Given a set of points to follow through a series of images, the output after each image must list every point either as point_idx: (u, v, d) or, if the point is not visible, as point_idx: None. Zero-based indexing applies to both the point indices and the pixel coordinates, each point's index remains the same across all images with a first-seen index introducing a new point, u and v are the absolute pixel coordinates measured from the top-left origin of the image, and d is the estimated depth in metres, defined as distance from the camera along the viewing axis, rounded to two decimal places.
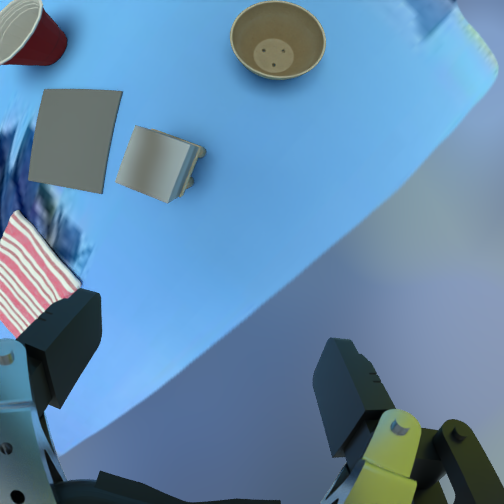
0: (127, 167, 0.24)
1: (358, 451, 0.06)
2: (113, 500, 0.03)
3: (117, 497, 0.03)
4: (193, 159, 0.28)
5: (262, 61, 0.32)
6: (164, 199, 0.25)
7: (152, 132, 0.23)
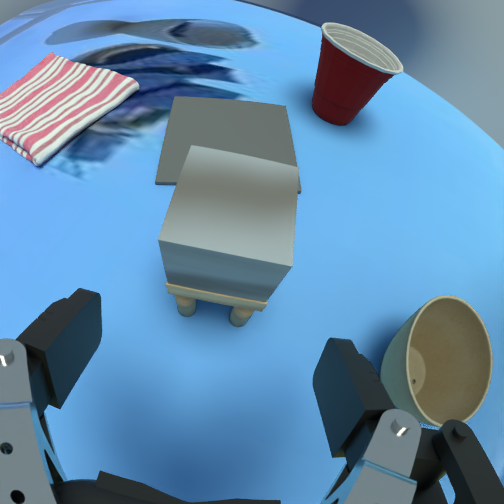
0: (221, 161, 0.14)
1: (358, 452, 0.06)
2: (113, 500, 0.03)
3: (117, 497, 0.03)
4: (242, 295, 0.16)
5: None
6: (165, 232, 0.12)
7: (295, 194, 0.14)
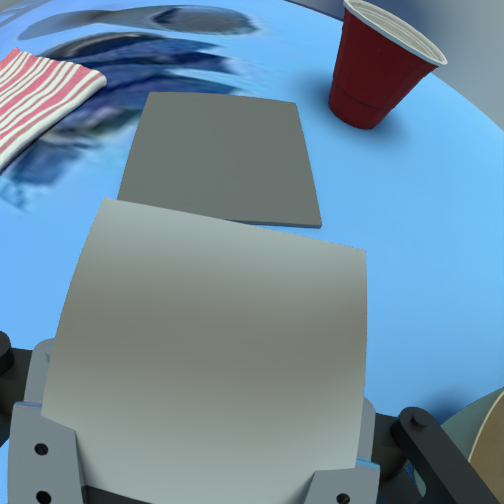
0: (172, 245, 0.05)
1: None
2: (113, 500, 0.03)
3: (117, 497, 0.03)
4: None
5: None
6: None
7: (361, 335, 0.05)
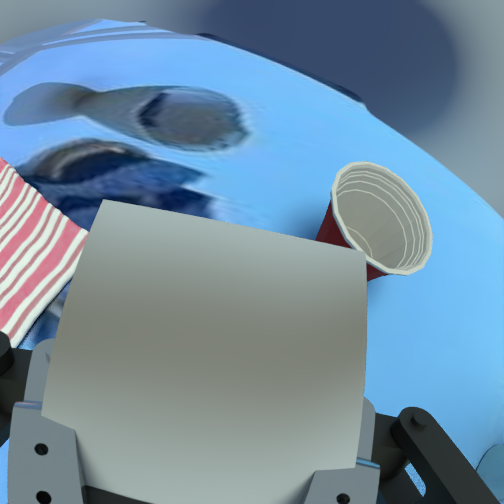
0: (171, 247, 0.05)
1: None
2: (113, 500, 0.03)
3: (117, 497, 0.03)
4: None
5: None
6: None
7: (361, 337, 0.05)
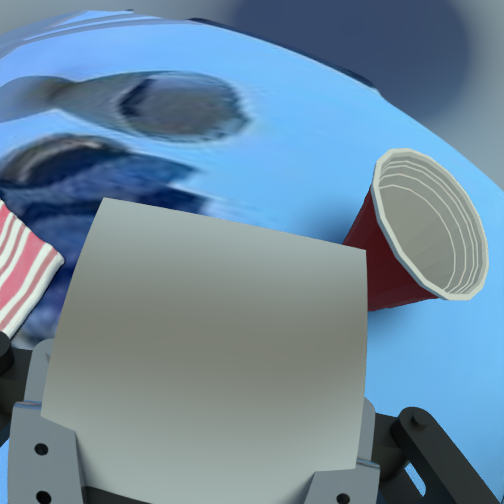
0: (172, 245, 0.05)
1: None
2: (113, 500, 0.03)
3: (117, 497, 0.03)
4: None
5: None
6: None
7: (361, 335, 0.05)
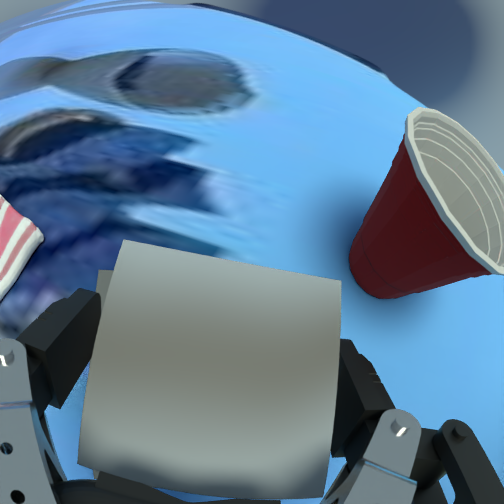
0: (183, 281, 0.07)
1: (358, 452, 0.06)
2: (113, 500, 0.03)
3: (117, 497, 0.03)
4: None
5: None
6: (87, 453, 0.04)
7: (335, 351, 0.06)
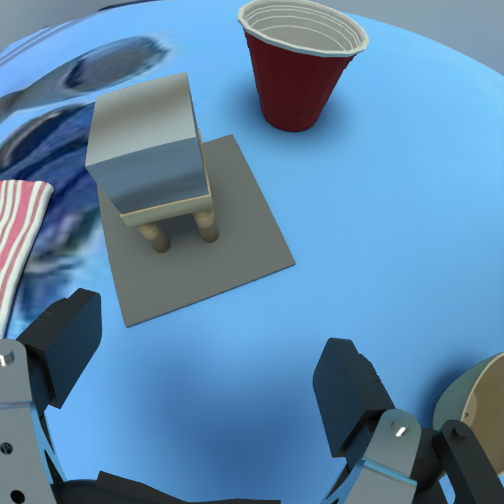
0: (121, 95, 0.14)
1: (357, 452, 0.06)
2: (113, 500, 0.03)
3: (117, 497, 0.03)
4: (184, 195, 0.17)
5: None
6: (89, 159, 0.12)
7: (187, 90, 0.14)
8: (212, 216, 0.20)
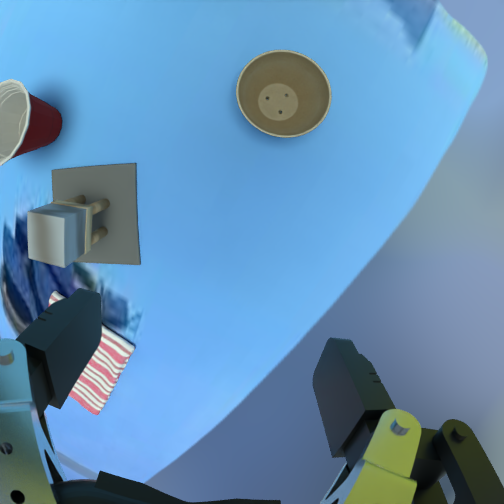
0: (32, 245, 0.26)
1: (357, 451, 0.06)
2: (113, 500, 0.03)
3: (117, 497, 0.03)
4: (84, 221, 0.31)
5: (268, 110, 0.34)
6: (61, 265, 0.27)
7: (39, 214, 0.25)
8: (96, 204, 0.34)
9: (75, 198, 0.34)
